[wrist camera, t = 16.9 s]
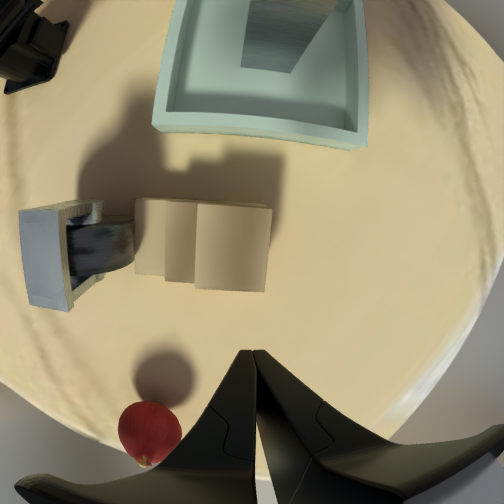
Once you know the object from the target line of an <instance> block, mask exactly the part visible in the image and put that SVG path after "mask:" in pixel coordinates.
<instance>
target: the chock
mask: <svg viewBox="0 0 504 504" xmlns="http://www.w3.org/2000/svg"><path fill="white" fill-rule="evenodd" d="M272 211H273V209H271V208H270V207H268V206H266V205H265V204H259V203H246V202H232V201H216V200H198V199H176V198H147V197H144V198H140V199H135V273H136V274H140V275H153V276H165V281H168V282H182V283H195V289H208V290H226V291H246V292H264V291H265V282H266V272H267V262H268V252H269V242H270V232H271V222H272Z"/></svg>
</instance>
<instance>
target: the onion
mask: <svg viewBox="0 0 504 504" xmlns="http://www.w3.org/2000/svg"><path fill="white" fill-rule="evenodd" d="M118 435H119V438H120V441H121V443H122V445H123V446H124V448H125V450H126V451H127V453H128V454H129V455H130V456H132V457H133V458H134V459H135V460H136V462H137V463H138V464H139V465H140V466H141V467H144V468H146V467H149V466H151V465H152V464H151V463H158V462H161V461H162V460H163V459H164V458H165V457H166V456H167V455H168V454H169V453H170V452H171V451H172V450H173V449H174V448H175V447H176V446H177V444H178V443H179V442H180V441H181V437H182V429H181V426H180V424H179V421H178V419H177V417H176V416H175V415H174V414H173V413H172V412H171V411H170V410H169V409H168V408H166V407H164V406H162V405H161V404H160V403H158V402H148V401H141V402H137V403H133V404H132V405H130V406H128V407H127V408H126V409H125V410H124V411H123V413H122V415H121V416H120V419H119V424H118Z"/></svg>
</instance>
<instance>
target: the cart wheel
mask: <svg viewBox="0 0 504 504" xmlns="http://www.w3.org/2000/svg"><path fill="white" fill-rule="evenodd" d="M102 209H104V200H73V201H66V202H63V203H57V204H52V205H47V206H42V207H37V208H32V209H24V210H20V211H19V230H20V243H21V253H22V262H23V269H24V276H25V282H26V288H27V294H28V299H29V304H30V305H33V306H38V307H43V308H48V309H53V310H59V311H64V312H69V311H70V310H71V309H72V308H73V307H74V301H76V300H77V299H78V298H79V297H80V296H81V295H82V294H83V293H85V292H86V291H87V290H88V289H89V288H90V287H91V286H93V285H94V284H95V283H96V282H99V281H101V280H102V279H103V278H104V277H105V276H104V275H105V274H106V272H110V271H114V270H117V269H120V268H123V267H125V266H127V265H129V264H130V263H132V262H133V261H134V259H135V220H134V219H133V218H130V217H125V216H117V215H102Z"/></svg>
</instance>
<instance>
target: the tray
mask: <svg viewBox="0 0 504 504" xmlns="http://www.w3.org/2000/svg"><path fill="white" fill-rule="evenodd" d="M249 1H250V0H176V3H175V6H174V10H173V13H172V17H171V21H170V25H169V29H168V33H167V37H166V42H165V46H164V51H163V55H162V60H161V66H160V71H159V76H158V82H157V88H156V94H155V101H154V108H153V115H152V123H151V125H152V126H154V127H155V128H156V129H158V130H159V131H160V132H162V133H203V134H223V135H238V136H250V137H260V138H270V139H278V140H286V141H294V142H301V143H308V144H314V145H320V146H326V147H332V148H337V149H342V150H348V151H350V150H355V149H359V148H364V147H367V145H368V120H369V76H368V52H367V38H366V26H365V16H364V8H363V0H340V1H339V2H338V4H337V5H336V6H335V8H334V9H333V10H332V12H331V13H330V15H329V16H328V18H327V19H326V20H325V22H324V23H323V25H322V26H321V28H320V29H319V30H318V32H317V33H316V35H315V36H314V38H313V39H312V41H311V42H310V44H309V45H308V47H307V48H306V50H305V51H304V53H303V54H302V56H301V57H300V59H299V60H298V62H297V64H296V65H295V67H294V68H293V70H292V71H291V73H290V74H289V73H283V72H276V71H268V70H260V69H251V68H240V66H241V58H242V50H243V42H244V34H245V27H246V20H247V14H248V8H249Z"/></svg>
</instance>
